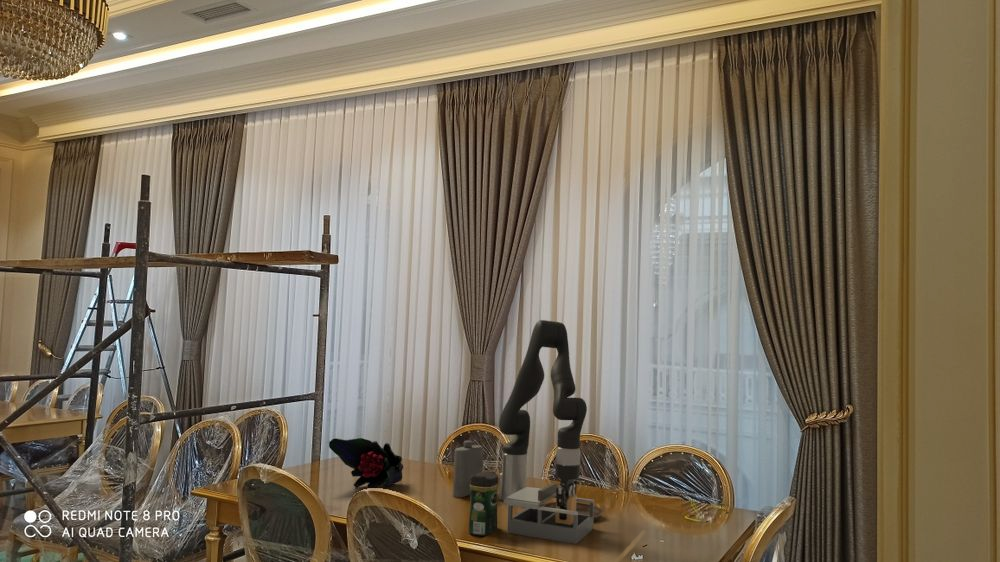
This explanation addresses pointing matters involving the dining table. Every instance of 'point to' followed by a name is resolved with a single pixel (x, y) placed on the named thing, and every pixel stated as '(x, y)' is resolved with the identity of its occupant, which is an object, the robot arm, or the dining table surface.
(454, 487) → the flask
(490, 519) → the coffee jar
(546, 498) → the lid
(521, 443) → the robot arm
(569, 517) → the module
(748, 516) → the dining table surface
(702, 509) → the dining table surface
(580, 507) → the plant saucer
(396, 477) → the decorative plant
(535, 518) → the case
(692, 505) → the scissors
